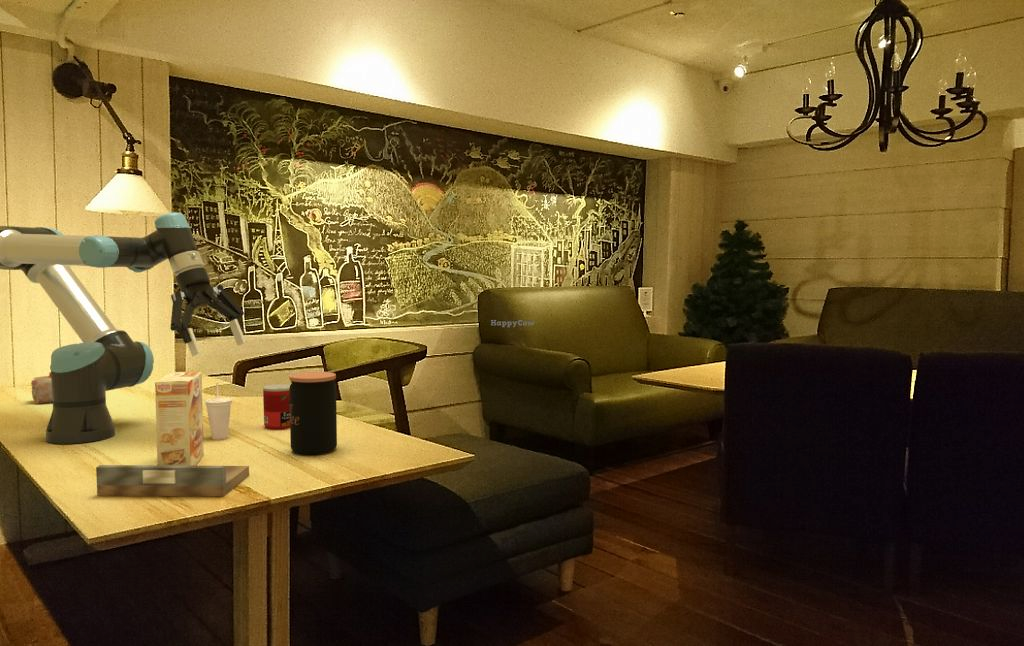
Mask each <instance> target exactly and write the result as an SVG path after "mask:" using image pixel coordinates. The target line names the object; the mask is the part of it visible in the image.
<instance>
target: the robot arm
mask: <svg viewBox="0 0 1024 646" xmlns="http://www.w3.org/2000/svg"><path fill="white" fill-rule="evenodd" d="M154 225H155V226H154V227H155V230H154V231H152V232H151V233H150V234H147V235H145V236H143V237H136V236H135V237H134V236H132V237H131V236H110V235H109V236H108V235H107V236H106V235H75V234H73V235H72V234H63V233H62V232H61V231H59V230H57V229H53V228H48V227H44V226H36V227H30V226H28V227H27V226H15V225H14V226H9V225H0V270H2V271H3V270H5V271H6V270H7V271H8V270H9V271H11V270H12V271H18V270H19V271H22V272H23V274H24V275H25V276H26V278H27V279H28V280H29V282H31V283H33V284H39V285H40V286H41V287H42V289H43V291H44V292H45V293H46V295H48V297H49V298H50V300H51V301H52V303H53V305H55V307H56V308H57V309H58V311H59V312H60V313H61V315H62V316H63V318H64V319H65V321H67V322H68V324H69V325H70V327H71V328H72V329H73V331H74V332H75V333H76V335H77V336H78V338H79V339H80V340H81V341H82V342H79V343H72V344H67V345H63V346H61V347H58V348H56V349H54V351H52V353H51V355H50V366H49V369H50V372H51V381H52V400H53V403H52V412H51V415H50V417H49V421H48V424H47V427H46V430H45V441H46V442H47V443H50V444H55V445H56V444H58V445H61V444H62V445H64V444H65V445H69V444H81V443H84V444H85V443H92V442H97V441H102V440H105V439H108V438H111V437H113V436H115V434H116V429H115V428H116V427H115V426H116V425H115V423H114V421H113V419H112V416H111V414H110V411H109V409H108V406H107V395H106V392H107V391H112V390H113V391H114V390H117V389H122V388H131V387H132V388H133V387H135V386H136V385H140V384H143V383H145V382H146V381H147V380H148V379H149V378H150V376H151V375H152V373H153V370H154V363H155V361H154V355H153V352H152V349H151V348H150V347H149V345H147V344H146V343H144V342H141V341H137V340H136V341H134V340H133V339H132V338H131V337H130V335H129V334H128V333H127V331H125V330H123V329H117V328H116V327H115V325H114V324H113V323H112V322H111V320H110V319H109V317H108V316H107V315H106V314H105V312H104V311H103V310H102V308H101V306H100V305H99V304H98V303H97V301H96V300H95V298H93V296H92V294H91V293H90V292H89V290H87V288H86V287H85V285H84V284H83V283H82V281H81V280H80V278H79V277H78V276H77V275H76V273H75V272H74V270H73V269H72V268H71V266H74V267H75V266H77V267H91V268H96V269H97V268H99V269H100V268H101V269H102V268H127V269H128V270H130V271H133V272H134V273H143V272H145V271H149V270H151V269H153V268H154V267H155V266H157V265H159V264H161V263H163V262H164V261H166V260H168V262H169V265H170V267H171V271H172V273H173V275H174V276H175V280H176V283H177V285H178V287H179V290H177V291H175V292H173V293H171V295H170V298H171V301H172V306H171V307H172V308H171V317H170V318H171V320H170V330H171V331H172V332H173V331H176V333H178V334H180V335H181V337H182V338H181V339H182V340H183V343H184V344H187V348H188V350H189V352H190V354H191V357H195V356H197V355H199V354H200V353H202V352H201V350H200V346H199V344H198V341H197V339H196V336H195V334H194V330H193V329H192V327H189V325H190V323H191V320H192V317H193V314H194V311H195V309H197V308H199V307H207V306H209V307H210V308H212V309H214V310H216V311H217V312H218V313H220V315H222V316H224V317H225V318H226V319H227V320H229V322H228V325H229V327H230V328H229V329H230V330H231V333H232V336H233V337H234V341H235V343H236V346H241V345H243V344H245V343H246V339H245V336H244V333H243V331H244V330H243V325H242V323H241V320H240V318H241V317H242V316H243V315H245V312H244V311H243V310H242V309H241V307H240V306H239V305H238V303H236V302H235V301H234V300H233V299H232V297H231V296H230V295H229V294H228V293H227V292H226V291H225V288H224V286H223V285H222V284H218V285H216V286H214V287H212V286H211V283H210V277H209V275H208V272H207V269H206V268H204V266H205V265H204V261H203V259H202V256H201V254H200V251H199V249H198V247H197V245H196V242H195V238H194V236H193V232H192V230H191V229H192V228H191V226H190V225H189V223H188V221H187V218H186V217H185V215H184V214H183V213H181V212H176V211H175V212H167V213H164V214H161V215H160V216H157V218H156V219H155V220H154ZM180 290H181V291H180ZM183 300H185V301H186V303H185V307H184V311H183ZM182 311H183V315H182ZM188 327H189V328H188Z"/></svg>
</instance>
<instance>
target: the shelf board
mask: <svg viewBox="0 0 1024 646" xmlns="http://www.w3.org/2000/svg"><path fill="white" fill-rule="evenodd" d="M95 474H96V496H99V497H100V496H101V497H105V496H106V497H107V496H108V497H109V496H111V497H113V496H114V497H115V496H116V497H122V496H123V497H129V496H130V497H147V496H148V497H224V496H226V495H227V494H228V493H229V492H231V491H232V490H233V489H234V488H235V487H237V486H238V485H240V484H241V483H242V482H243V481H244V480H245V479H247V478H248V477H250V465H196V466H179V465H158V464H157V465H154V464H153V465H148V464H147V465H145V464H140V465H139V464H135V465H134V464H133V465H132V464H127V465H126V464H125V465H124V464H122V465H121V464H119V465H118V464H115V465H114V464H99V465H97V466H96V467H95Z"/></svg>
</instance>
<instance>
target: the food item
mask: <svg viewBox="0 0 1024 646" xmlns="http://www.w3.org/2000/svg"><path fill="white" fill-rule="evenodd" d="M30 385H31V395H32V396H31V397H32V399H33V401H34V403H35V404H36V405H47V404H48V405H49V404H53V400H52V381H51V371H50V372H48V375H44V376H38V377H37V376H36V377H34V378H33V380H31V382H30Z"/></svg>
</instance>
